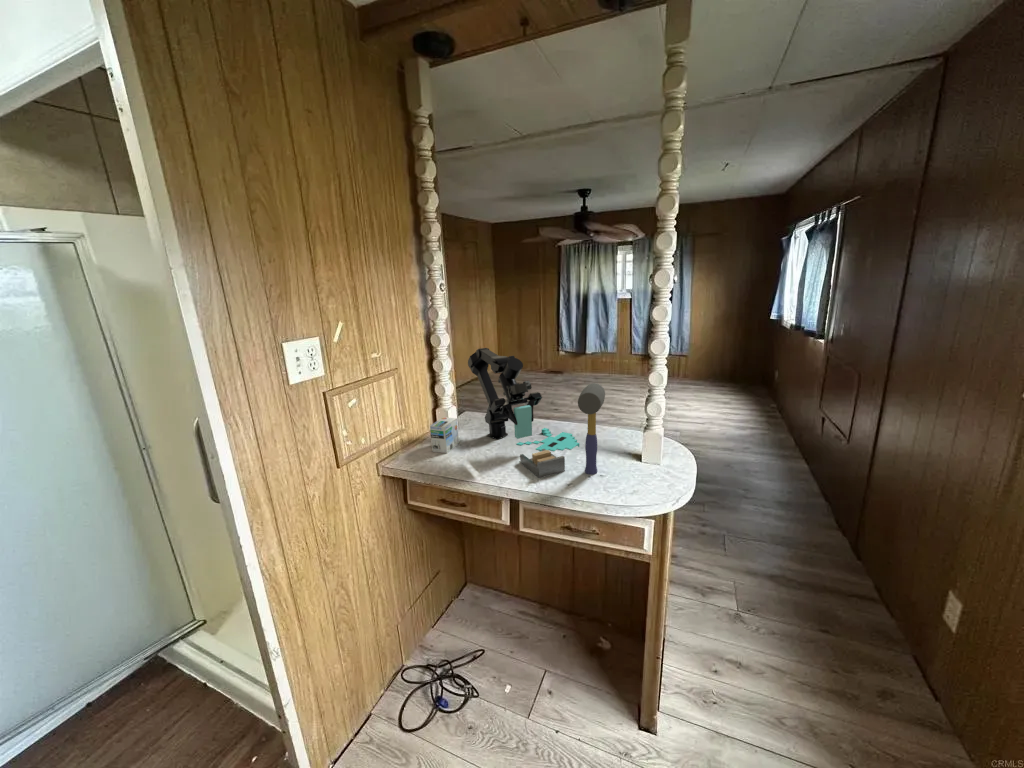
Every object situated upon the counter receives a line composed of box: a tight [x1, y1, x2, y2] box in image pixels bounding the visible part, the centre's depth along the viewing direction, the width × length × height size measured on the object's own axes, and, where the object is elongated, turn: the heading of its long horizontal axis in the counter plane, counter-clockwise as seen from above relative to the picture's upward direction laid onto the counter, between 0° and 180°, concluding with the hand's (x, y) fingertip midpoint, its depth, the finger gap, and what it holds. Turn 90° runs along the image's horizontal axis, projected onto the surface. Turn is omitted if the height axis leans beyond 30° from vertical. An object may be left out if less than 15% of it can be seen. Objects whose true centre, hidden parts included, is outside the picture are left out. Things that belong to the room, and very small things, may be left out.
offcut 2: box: [537, 455, 555, 462], centre depth 129 cm, size 2×6×4 cm, turn 116°
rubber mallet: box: [577, 382, 606, 476], centre depth 124 cm, size 12×8×30 cm, turn 160°
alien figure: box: [515, 427, 580, 452], centre depth 153 cm, size 20×2×20 cm
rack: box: [518, 449, 566, 479], centre depth 132 cm, size 14×10×6 cm
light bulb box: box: [429, 416, 460, 454], centre depth 153 cm, size 11×7×11 cm, turn 161°
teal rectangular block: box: [513, 405, 533, 440], centre depth 140 cm, size 2×6×11 cm, turn 116°
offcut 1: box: [531, 450, 552, 465], centre depth 131 cm, size 2×6×5 cm, turn 116°
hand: (524, 422), depth 139 cm, fingers closed on teal rectangular block, 6 cm apart
